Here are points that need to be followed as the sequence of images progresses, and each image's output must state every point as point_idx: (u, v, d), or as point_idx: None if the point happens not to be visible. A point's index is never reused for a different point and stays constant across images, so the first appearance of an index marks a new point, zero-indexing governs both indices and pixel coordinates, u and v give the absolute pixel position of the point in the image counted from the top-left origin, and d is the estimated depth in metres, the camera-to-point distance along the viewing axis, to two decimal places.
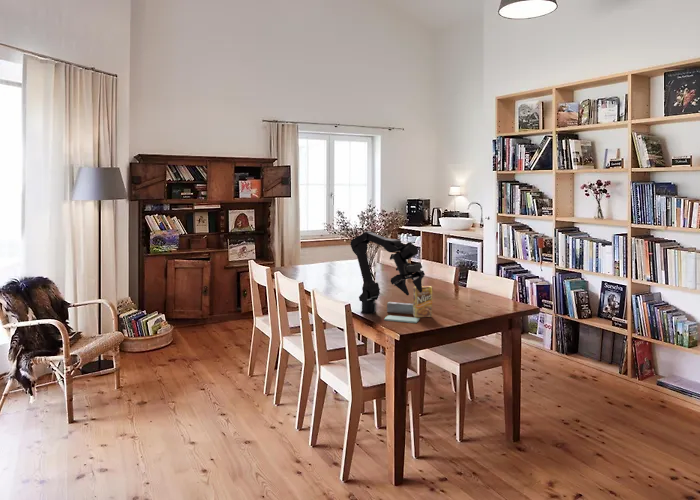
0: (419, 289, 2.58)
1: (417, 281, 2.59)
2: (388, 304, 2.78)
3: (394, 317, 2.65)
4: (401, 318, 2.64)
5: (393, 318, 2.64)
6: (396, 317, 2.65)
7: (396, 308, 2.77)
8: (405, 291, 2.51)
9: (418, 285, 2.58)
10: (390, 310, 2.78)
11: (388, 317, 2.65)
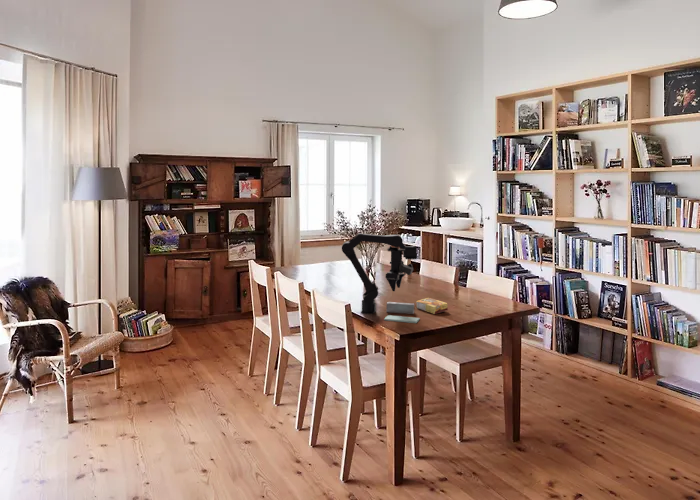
0: (398, 284, 2.81)
1: (399, 277, 2.81)
2: (387, 304, 2.78)
3: (394, 317, 2.65)
4: (401, 318, 2.64)
5: (393, 318, 2.64)
6: (396, 317, 2.65)
7: (396, 308, 2.77)
8: (393, 287, 2.72)
9: (398, 280, 2.81)
10: (389, 310, 2.78)
11: (388, 317, 2.65)
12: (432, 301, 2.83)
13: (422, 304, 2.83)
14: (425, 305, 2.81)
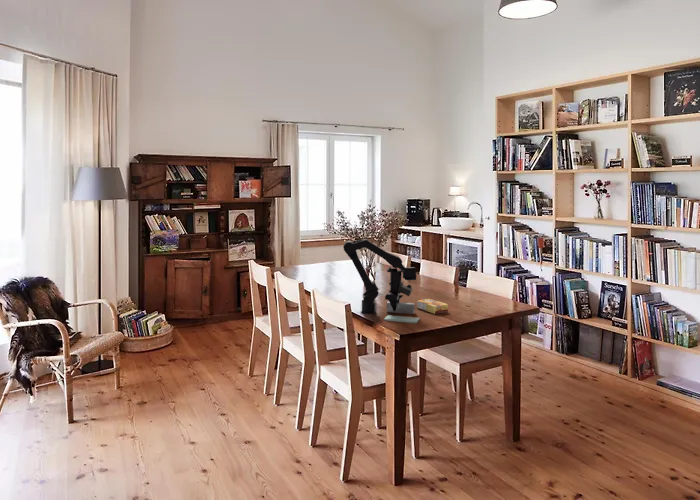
0: None
1: None
2: (388, 304, 2.78)
3: (394, 317, 2.65)
4: (401, 318, 2.64)
5: (393, 318, 2.64)
6: (396, 317, 2.65)
7: (396, 307, 2.77)
8: (394, 307, 2.77)
9: None
10: (390, 310, 2.78)
11: (388, 317, 2.65)
12: (433, 302, 2.83)
13: (423, 304, 2.83)
14: (426, 305, 2.81)
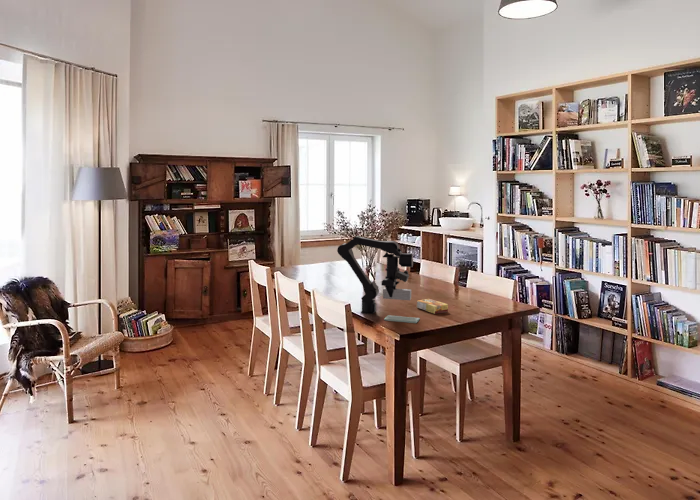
0: None
1: None
2: (384, 290, 2.74)
3: (394, 317, 2.65)
4: (401, 318, 2.64)
5: (393, 318, 2.64)
6: (396, 317, 2.65)
7: (393, 294, 2.73)
8: (390, 293, 2.72)
9: None
10: (386, 296, 2.74)
11: (388, 317, 2.65)
12: (433, 302, 2.83)
13: (423, 304, 2.83)
14: (426, 305, 2.81)
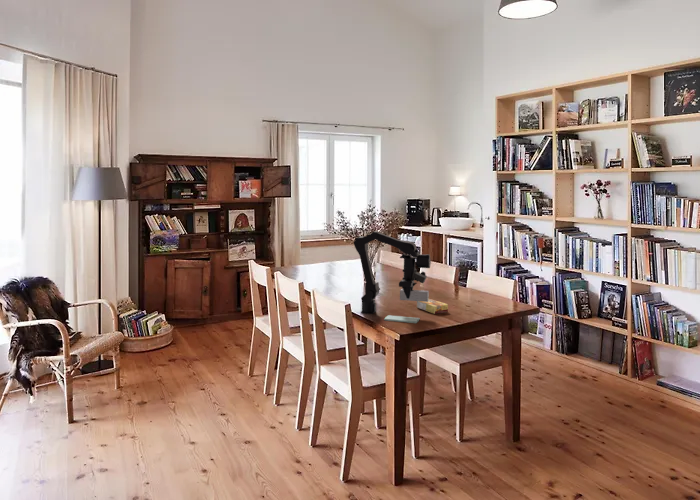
0: None
1: None
2: (401, 291, 2.71)
3: (394, 317, 2.65)
4: (401, 318, 2.64)
5: (393, 318, 2.64)
6: (396, 317, 2.65)
7: (410, 295, 2.70)
8: (407, 294, 2.69)
9: None
10: (403, 297, 2.71)
11: (388, 317, 2.65)
12: (433, 302, 2.83)
13: (423, 304, 2.83)
14: (426, 305, 2.81)
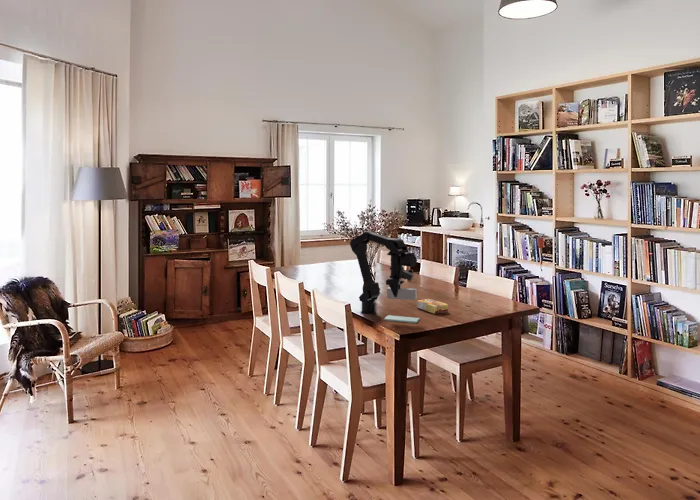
0: None
1: None
2: (388, 289, 2.64)
3: (394, 317, 2.65)
4: (401, 318, 2.64)
5: (393, 318, 2.64)
6: (396, 317, 2.65)
7: (397, 293, 2.63)
8: (395, 293, 2.63)
9: None
10: (390, 296, 2.64)
11: (388, 317, 2.65)
12: (433, 302, 2.83)
13: (423, 304, 2.83)
14: (426, 305, 2.81)
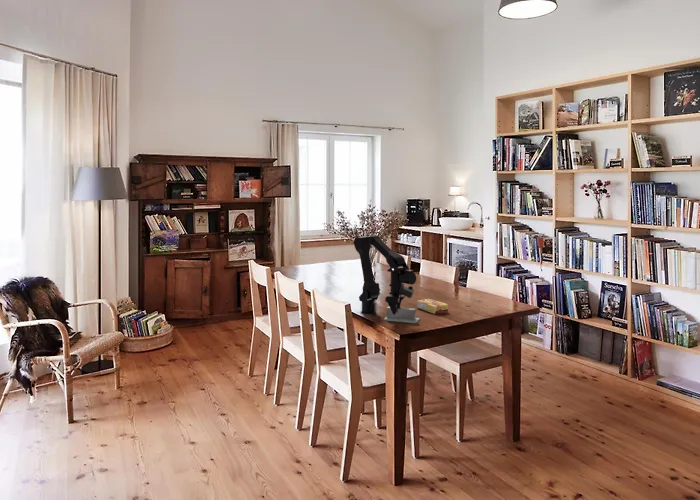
0: None
1: (398, 300, 2.67)
2: (388, 309, 2.64)
3: None
4: None
5: (393, 318, 2.64)
6: None
7: (396, 313, 2.63)
8: (393, 310, 2.60)
9: (397, 303, 2.68)
10: (390, 315, 2.64)
11: None
12: (433, 302, 2.83)
13: (423, 304, 2.83)
14: (426, 305, 2.81)
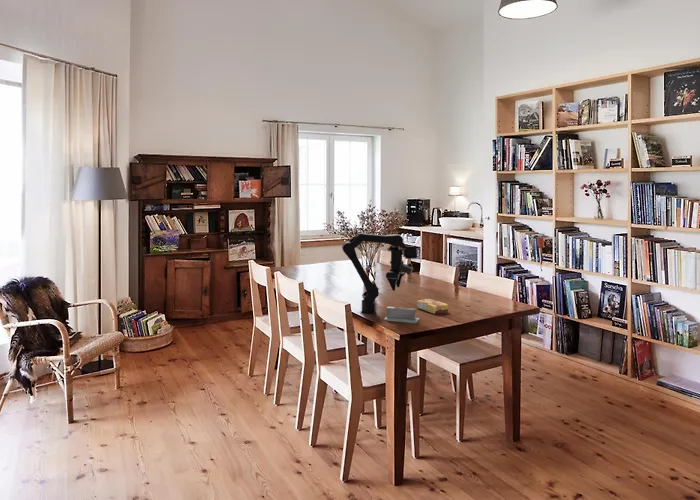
0: (397, 284, 2.83)
1: (399, 276, 2.82)
2: (388, 309, 2.64)
3: None
4: None
5: (393, 318, 2.64)
6: None
7: (396, 313, 2.63)
8: (393, 287, 2.73)
9: (398, 280, 2.83)
10: (390, 315, 2.64)
11: None
12: (433, 302, 2.83)
13: (423, 304, 2.83)
14: (426, 305, 2.81)
